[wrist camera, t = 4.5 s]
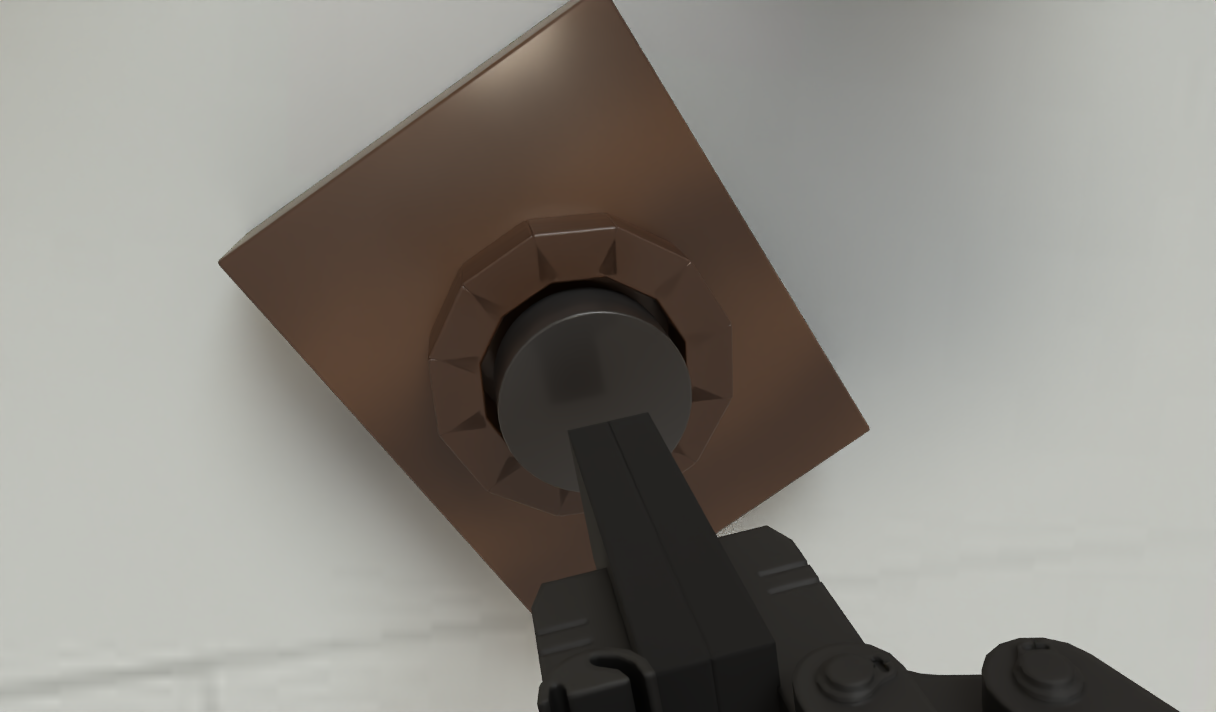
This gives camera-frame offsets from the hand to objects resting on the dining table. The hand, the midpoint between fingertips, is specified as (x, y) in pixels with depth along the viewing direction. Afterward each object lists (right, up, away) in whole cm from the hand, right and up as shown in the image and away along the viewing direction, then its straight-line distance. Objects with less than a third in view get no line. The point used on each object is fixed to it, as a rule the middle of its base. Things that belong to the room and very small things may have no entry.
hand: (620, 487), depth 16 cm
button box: (-2, +4, +10) cm, 10 cm away
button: (-1, +2, +5) cm, 6 cm away
